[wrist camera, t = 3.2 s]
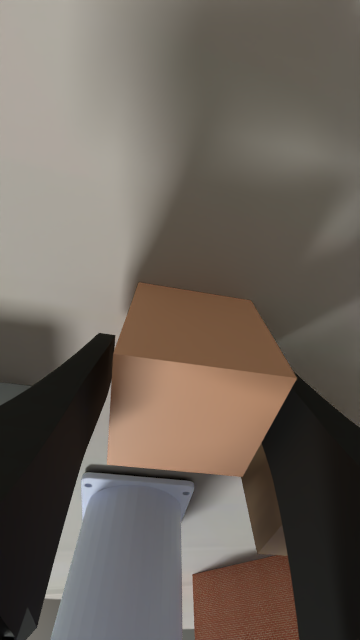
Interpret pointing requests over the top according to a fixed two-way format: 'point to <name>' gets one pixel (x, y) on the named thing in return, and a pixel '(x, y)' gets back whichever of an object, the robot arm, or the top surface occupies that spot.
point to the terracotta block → (193, 383)
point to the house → (246, 602)
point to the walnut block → (263, 506)
